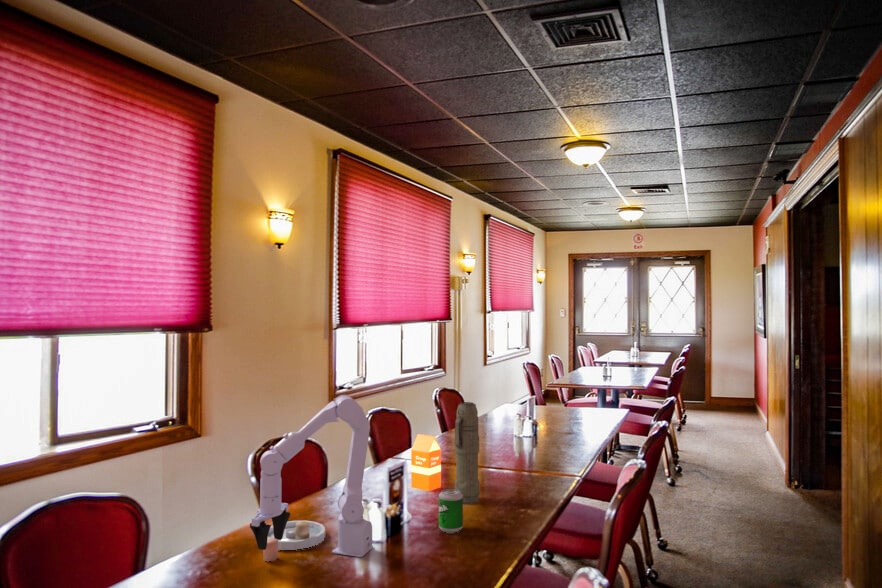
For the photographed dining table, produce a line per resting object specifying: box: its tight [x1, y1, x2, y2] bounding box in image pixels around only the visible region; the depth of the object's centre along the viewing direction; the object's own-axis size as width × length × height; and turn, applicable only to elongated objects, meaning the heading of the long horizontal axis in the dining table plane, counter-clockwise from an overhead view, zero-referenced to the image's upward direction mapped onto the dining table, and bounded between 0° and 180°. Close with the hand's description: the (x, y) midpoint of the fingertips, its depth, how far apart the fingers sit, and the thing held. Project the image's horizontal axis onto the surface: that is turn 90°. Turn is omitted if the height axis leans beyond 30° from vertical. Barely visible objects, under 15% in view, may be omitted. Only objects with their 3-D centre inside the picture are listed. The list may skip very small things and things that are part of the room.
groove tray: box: [267, 519, 326, 551], centre depth 190 cm, size 18×18×2 cm
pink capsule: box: [262, 538, 279, 563], centre depth 176 cm, size 4×4×5 cm
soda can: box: [438, 488, 464, 534], centre depth 198 cm, size 8×8×12 cm
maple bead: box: [296, 520, 310, 540], centre depth 186 cm, size 4×4×5 cm
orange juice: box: [410, 433, 442, 492], centre depth 245 cm, size 8×9×20 cm
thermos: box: [454, 401, 481, 505], centre depth 228 cm, size 9×12×35 cm
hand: (270, 544), depth 176 cm, fingers open, 7 cm apart
